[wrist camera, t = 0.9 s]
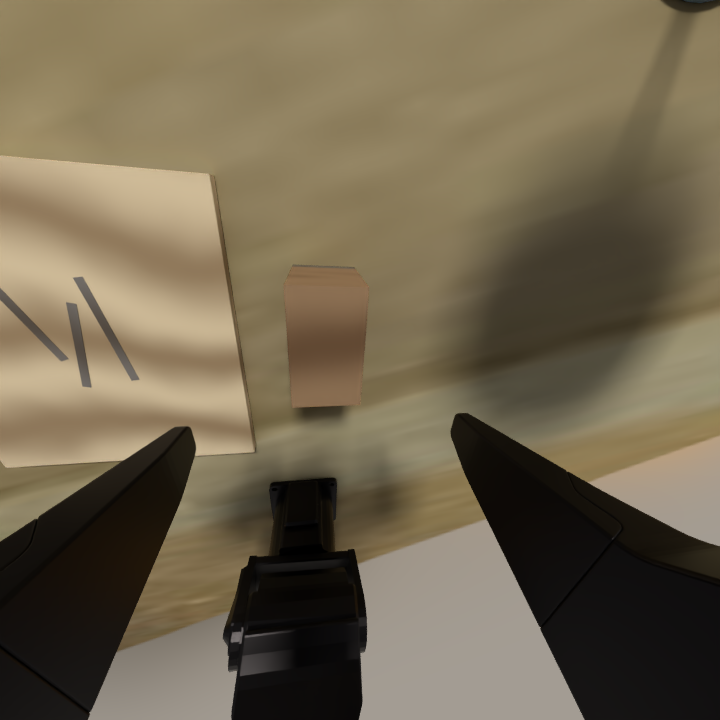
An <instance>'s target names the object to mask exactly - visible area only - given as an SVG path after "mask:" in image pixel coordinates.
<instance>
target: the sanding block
mask: <svg viewBox="0 0 720 720" xmlns="http://www.w3.org/2000/svg"><path fill="white" fill-rule="evenodd" d="M284 297H285V312H286V326H287V341H288V356H289V371H290V386H291V401H292V408H294V407H320V406H346V405H360V402H361V389H362V376H363V363H364V350H365V337H366V324H367V310H368V297H369V287H368V285H367V284H366V283H365V281H364V280H363V279H362V277H361V276H360V275H359V273H358V272H357V271H356V269H355V268H354V267H337V266H312V265H293V266H292V268H291V270H290V272H289V275H288V277H287V279H286V281H285V283H284Z"/></svg>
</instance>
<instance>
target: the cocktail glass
mask: <svg viewBox="0 0 720 720" xmlns="http://www.w3.org/2000/svg"><path fill="white" fill-rule="evenodd" d="M684 1H686V2H695V3H703V2H709V1H714V0H684Z"/></svg>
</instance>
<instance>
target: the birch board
mask: <svg viewBox="0 0 720 720" xmlns="http://www.w3.org/2000/svg"><path fill="white" fill-rule="evenodd" d="M177 426H189V427H190V428H191V430H192V433H193V436H194V440H195V443H196V453H195V456H202V455H218V454H234V453H250V452H254V451H255V447H256V442H255V435H254V429H253V423H252V416H251V410H250V403H249V397H248V390H247V384H246V378H245V371H244V365H243V358H242V352H241V346H240V339H239V333H238V326H237V320H236V313H235V307H234V301H233V294H232V288H231V281H230V275H229V268H228V262H227V256H226V249H225V243H224V236H223V230H222V223H221V217H220V211H219V204H218V198H217V191H216V185H215V178H214V176H213V175H210V174H203V173H192V172H180V171H169V170H158V169H146V168H135V167H123V166H112V165H101V164H89V163H78V162H67V161H55V160H44V159H33V158H21V157H10V156H0V460H1V462H2V463H3V464H4V466H5V467H6V468H10V467H26V466H42V465H58V464H74V463H90V462H106V461H122V460H125V459H126V458H128V457H130V456H131V455H133V454H134V453H136V452H137V451H139V450H140V449H142V448H143V447H145V446H146V445H148V444H149V443H151V442H152V441H154V440H155V439H157V438H158V437H160V436H161V435H163V434H164V433H166V432H167V431H169V430H170V429H172V428H174V427H177Z"/></svg>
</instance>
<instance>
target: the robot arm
mask: <svg viewBox="0 0 720 720" xmlns="http://www.w3.org/2000/svg"><path fill="white" fill-rule="evenodd" d="M451 438H452V441H453V443H454V446H455V449H456V452H457V454H458V457H459V460H460V462H461V465H462V468H463V470H464V473H465V475H466V478H467V480H468V482H469V484H470V486H471V488H472V490H473V492H474V494H475V496H476V498H477V500H478V502H479V504H480V506H481V508H482V510H483V512H484V515H485V517H486V519H487V521H488V523H489V525H490V527H491V528H492V531H493V533H494V535H495V537H496V539H497V541H498V543H499V545H500V547H501V549H502V551H503V553H504V555H505V557H506V559H507V562H508V564H509V566H510V568H511V570H512V572H513V574H514V575H515V578H516V580H517V582H518V584H519V586H520V588H521V590H522V592H523V594H524V596H525V598H526V600H527V602H528V604H529V606H530V609H531V611H532V613H533V615H534V617H535V619H536V621H537V623H538V625H539V626H540V627H541V628H540V629H541V631H542V633H543V636H544V638H545V639H546V642H547V644H548V646H549V648H550V650H551V652H552V654H553V656H554V658H555V660H556V662H557V664H558V666H559V668H560V670H561V672H562V674H563V676H564V678H565V680H566V683H567V684H568V686H569V689H570V691H571V693H572V695H573V697H574V699H575V701H576V703H577V705H578V707H579V709H580V711H581V713H582V715H583V717H584V719H585V720H720V546H716V545H713V544H709V543H707V542H704V541H701V540H698V539H696V538H693V537H691V536H688V535H686V534H684V533H682V532H680V531H678V530H676V529H674V528H672V527H670V526H669V525H667V524H665V523H663V522H661V521H659V520H657V519H655V518H653V517H651V516H649V515H647V514H645V513H643V512H641V511H639V510H638V509H636V508H634V507H632V506H630V505H628V504H626V503H624V502H622V501H620V500H618V499H616V498H615V497H613V496H611V495H609V494H607V493H605V492H603V491H601V490H600V489H598V488H596V487H594V486H592V485H591V484H589V483H587V482H585V481H584V480H582V479H580V478H578V477H577V476H575V475H573V474H572V473H570V472H567V471H566V470H565V469H563V468H561V467H559V466H558V465H556V464H554V463H553V462H551V461H549V460H547V459H546V458H544V457H542V456H540V455H539V454H537V453H535V452H534V451H532V450H530V449H528V448H527V447H525V446H523V445H522V444H520V443H518V442H516V441H515V440H513V439H511V438H509V437H508V436H506V435H504V434H503V433H501V432H499V431H497V430H496V429H494V428H492V427H490V426H489V425H487V424H485V423H484V422H482V421H480V420H478V419H477V418H475V417H473V416H472V415H470V414H468V413H458V414H456V415H455V417H454V420H453V424H452V428H451ZM195 453H196V443H195V440H194V436H193V433H192V430H191V428H190V427H189V426H177V427H174V428H172V429H170V430H169V431H167V432H166V433H164V434H163V435H161V436H160V437H158V438H157V439H155V440H154V441H152V442H151V443H149V444H148V445H146V446H145V447H143V448H142V449H140V450H139V451H137V452H136V453H134V454H133V455H131V456H130V457H128V458H126V459H125V460H123V461H122V462H120V463H119V464H117V465H116V466H114V467H113V468H111V469H110V470H108V471H107V472H105V473H104V474H102V475H101V476H99V477H98V478H96V479H95V480H93V481H92V482H90V483H89V484H87V485H86V486H84V487H83V488H81V489H80V490H78V491H77V492H75V493H74V494H72V495H71V496H69V497H68V498H66V499H64V500H63V501H61V502H60V503H58V504H57V505H55V506H54V507H52V508H51V509H49V510H48V511H46V512H45V513H43V514H42V515H40V516H39V517H38V519H34V520H33V521H31V522H30V523H28V524H27V525H25V526H24V527H22V528H21V529H19V530H18V531H16V532H14V533H13V534H11V535H10V536H8V537H7V538H5V539H4V540H2V541H1V542H0V720H88V718H89V715H90V713H89V712H90V711H91V710H92V708H93V705H94V703H95V701H96V698H97V696H98V694H99V691H100V689H101V687H102V684H103V682H104V680H105V677H106V675H107V673H108V670H109V668H110V666H111V663H112V661H113V658H114V656H115V654H116V652H117V649H118V647H119V645H120V642H121V640H122V638H123V635H124V633H125V631H126V628H127V626H128V624H129V621H130V619H131V616H132V614H133V612H134V609H135V607H136V605H137V602H138V600H139V598H140V595H141V593H142V591H143V588H144V586H145V584H146V581H147V579H148V577H149V574H150V572H151V570H152V567H153V565H154V563H155V560H156V558H157V556H158V553H159V551H160V549H161V546H162V544H163V542H164V539H165V537H166V535H167V532H168V530H169V528H170V525H171V523H172V521H173V518H174V516H175V513H176V511H177V509H178V506H179V504H180V501H181V499H182V496H183V493H184V490H185V486H186V483H187V480H188V476H189V473H190V470H191V466H192V463H193V460H194V457H195ZM269 491H270V499H271V506H272V513H273V520H274V522H273V529H272V537H271V544H270V551H269V556H261V557H257V555H256V556H250V557H249V561H248V565H247V566H246V567H244V568H243V569H241V574H240V579H239V583H238V588H237V592H236V595H235V599H234V602H233V605H232V607H231V610H230V613H229V616H228V619H227V622H226V625H225V628H224V633H223V639H224V641H225V643H226V644H227V646H228V656H229V661H228V671H229V672H231V671H237V678H236V684H235V691H234V698H233V706H232V715H231V718H232V720H359V716H360V711H361V707H362V683H361V659H360V653H362V652H365V649H366V642H367V617H366V607H365V600H364V594H363V589H362V585H361V579H360V575H359V570H358V565H357V560H356V555H355V550H354V549H348V551H336V552H335V538H334V520H335V519H336V493H337V481H336V479H335V478H323V479H310V480H298V481H285V482H274V483H271V484H270V489H269Z"/></svg>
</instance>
